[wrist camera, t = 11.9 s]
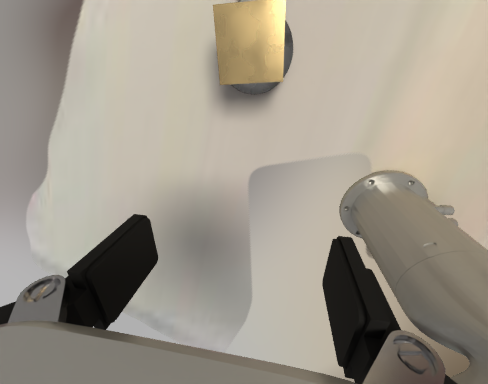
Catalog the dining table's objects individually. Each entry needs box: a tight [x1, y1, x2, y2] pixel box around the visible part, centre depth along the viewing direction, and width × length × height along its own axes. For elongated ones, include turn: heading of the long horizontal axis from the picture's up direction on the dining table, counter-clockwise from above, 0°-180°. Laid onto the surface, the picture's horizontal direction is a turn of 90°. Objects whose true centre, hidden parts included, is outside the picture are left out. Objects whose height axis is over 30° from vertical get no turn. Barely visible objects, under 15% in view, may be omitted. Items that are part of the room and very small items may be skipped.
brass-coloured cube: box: [213, 0, 286, 85], centre depth 23 cm, size 6×6×6 cm
